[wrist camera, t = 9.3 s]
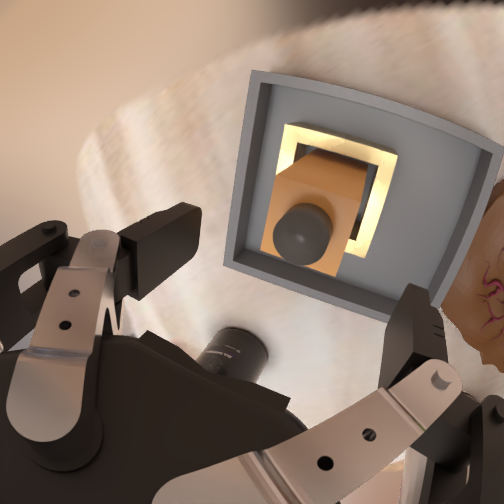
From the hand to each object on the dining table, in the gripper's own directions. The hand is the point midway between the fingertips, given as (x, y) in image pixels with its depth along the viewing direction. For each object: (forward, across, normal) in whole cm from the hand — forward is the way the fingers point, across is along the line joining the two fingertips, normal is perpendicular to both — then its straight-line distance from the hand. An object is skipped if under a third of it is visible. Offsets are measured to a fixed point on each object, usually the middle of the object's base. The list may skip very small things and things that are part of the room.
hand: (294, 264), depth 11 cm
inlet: (+15, +1, 0) cm, 15 cm away
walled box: (+15, -1, +1) cm, 15 cm away
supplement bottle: (+15, +6, +22) cm, 27 cm away
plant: (+16, -20, +1) cm, 26 cm away
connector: (+14, +1, 0) cm, 14 cm away
